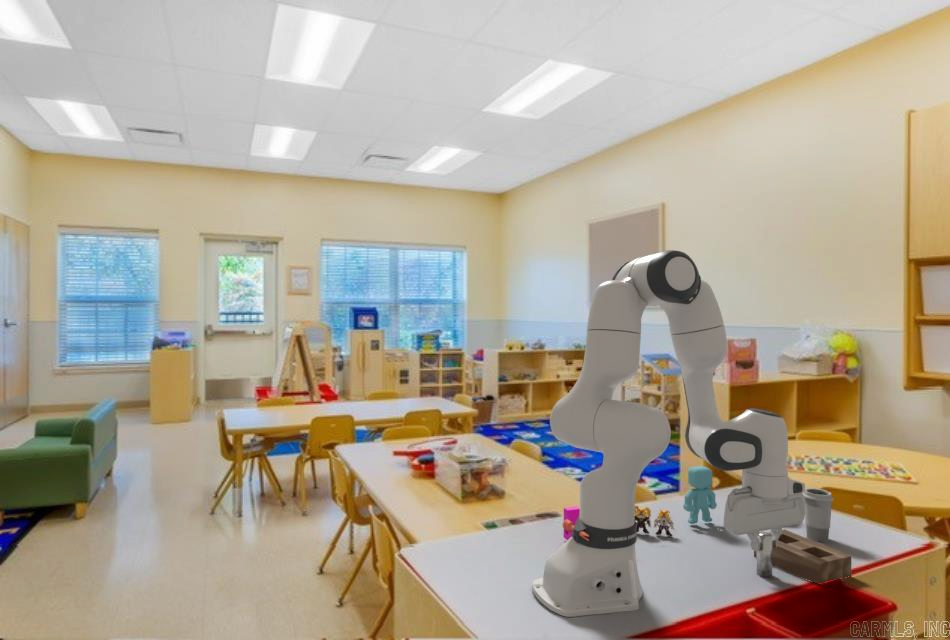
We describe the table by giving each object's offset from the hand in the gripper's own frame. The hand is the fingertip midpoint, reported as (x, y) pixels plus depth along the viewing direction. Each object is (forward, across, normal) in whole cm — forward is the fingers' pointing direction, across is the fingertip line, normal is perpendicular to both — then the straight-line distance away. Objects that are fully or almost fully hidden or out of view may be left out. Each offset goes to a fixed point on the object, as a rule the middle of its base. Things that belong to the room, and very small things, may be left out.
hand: (764, 548), depth 120 cm
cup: (+6, +30, +10) cm, 32 cm away
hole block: (+6, +11, 0) cm, 12 cm away
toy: (+6, +11, +30) cm, 33 cm away
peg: (+6, 0, 0) cm, 6 cm away
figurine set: (+6, -8, +31) cm, 32 cm away
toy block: (+6, -26, +27) cm, 38 cm away
